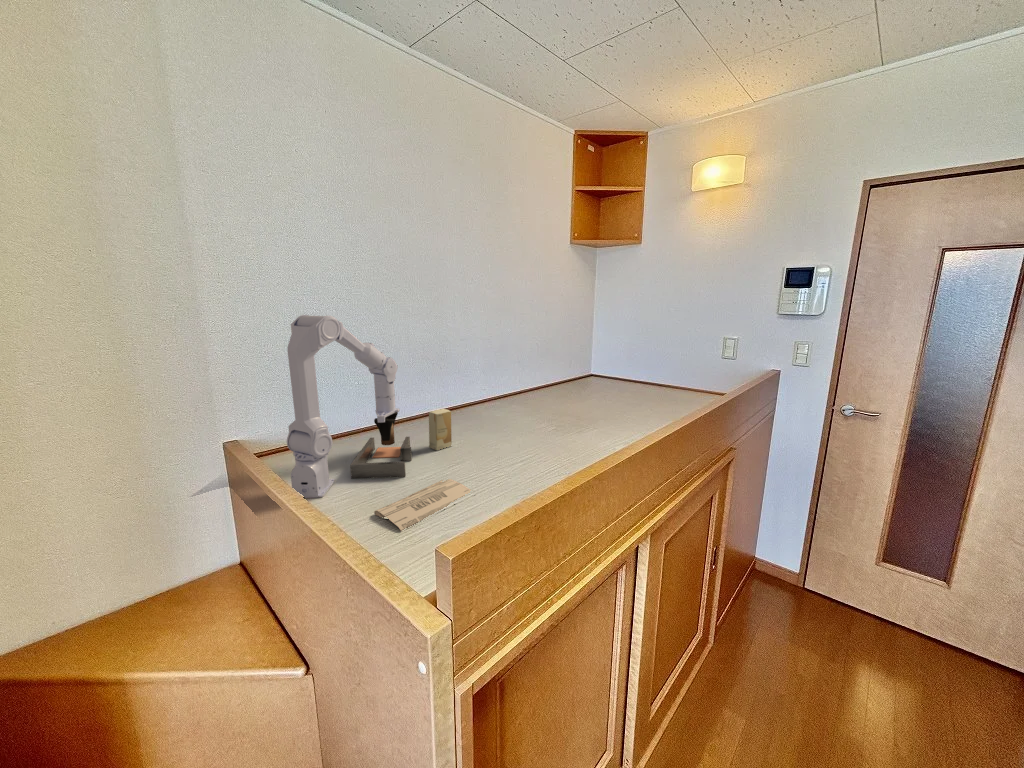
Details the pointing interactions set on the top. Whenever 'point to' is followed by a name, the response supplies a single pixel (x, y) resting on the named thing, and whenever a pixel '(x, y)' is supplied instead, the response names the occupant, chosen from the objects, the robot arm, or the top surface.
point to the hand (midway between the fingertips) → (387, 437)
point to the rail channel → (379, 463)
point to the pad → (387, 452)
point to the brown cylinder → (390, 438)
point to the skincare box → (440, 429)
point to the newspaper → (422, 503)
